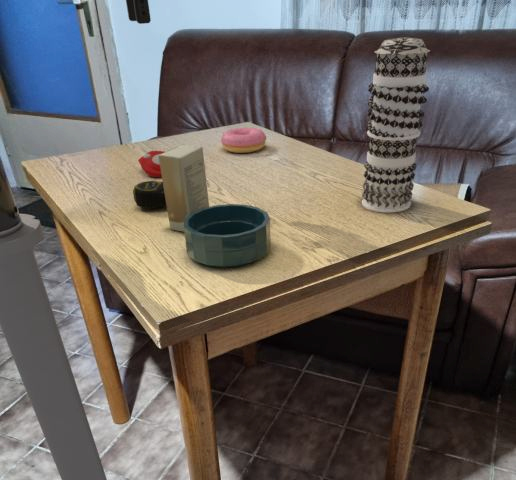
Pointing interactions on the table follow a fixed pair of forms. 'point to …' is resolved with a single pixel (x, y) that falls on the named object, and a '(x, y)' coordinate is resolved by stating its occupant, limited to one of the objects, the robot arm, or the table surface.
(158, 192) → the tape measure
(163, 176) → the cosmetic box
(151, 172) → the tracker holder
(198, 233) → the bowl
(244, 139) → the doughnut
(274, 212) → the table surface
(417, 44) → the white patterned cylinder
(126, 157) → the table surface
